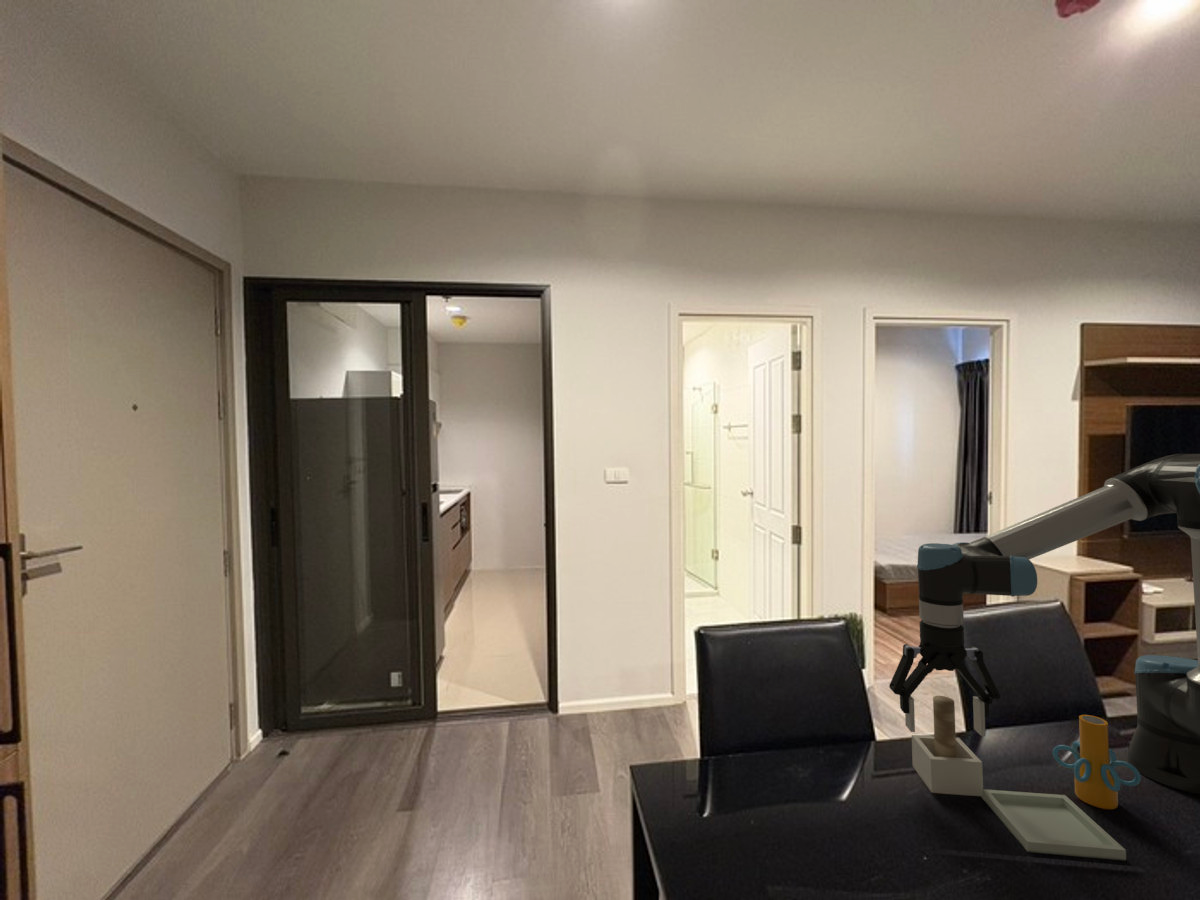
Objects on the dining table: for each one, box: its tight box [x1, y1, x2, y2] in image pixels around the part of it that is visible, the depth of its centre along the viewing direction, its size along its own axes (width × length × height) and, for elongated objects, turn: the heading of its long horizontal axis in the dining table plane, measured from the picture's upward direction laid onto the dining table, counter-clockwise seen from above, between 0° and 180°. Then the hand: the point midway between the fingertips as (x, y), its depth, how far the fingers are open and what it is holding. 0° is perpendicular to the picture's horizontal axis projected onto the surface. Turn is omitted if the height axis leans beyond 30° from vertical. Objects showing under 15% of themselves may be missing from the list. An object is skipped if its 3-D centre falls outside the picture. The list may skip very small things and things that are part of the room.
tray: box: [981, 788, 1127, 862], centre depth 93 cm, size 14×14×2 cm
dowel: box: [932, 695, 957, 758], centre depth 107 cm, size 4×4×16 cm
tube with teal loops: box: [1052, 714, 1142, 810], centre depth 101 cm, size 12×10×15 cm
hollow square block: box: [911, 734, 984, 797], centre depth 107 cm, size 9×9×7 cm
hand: (944, 730), depth 107 cm, fingers open, 12 cm apart
